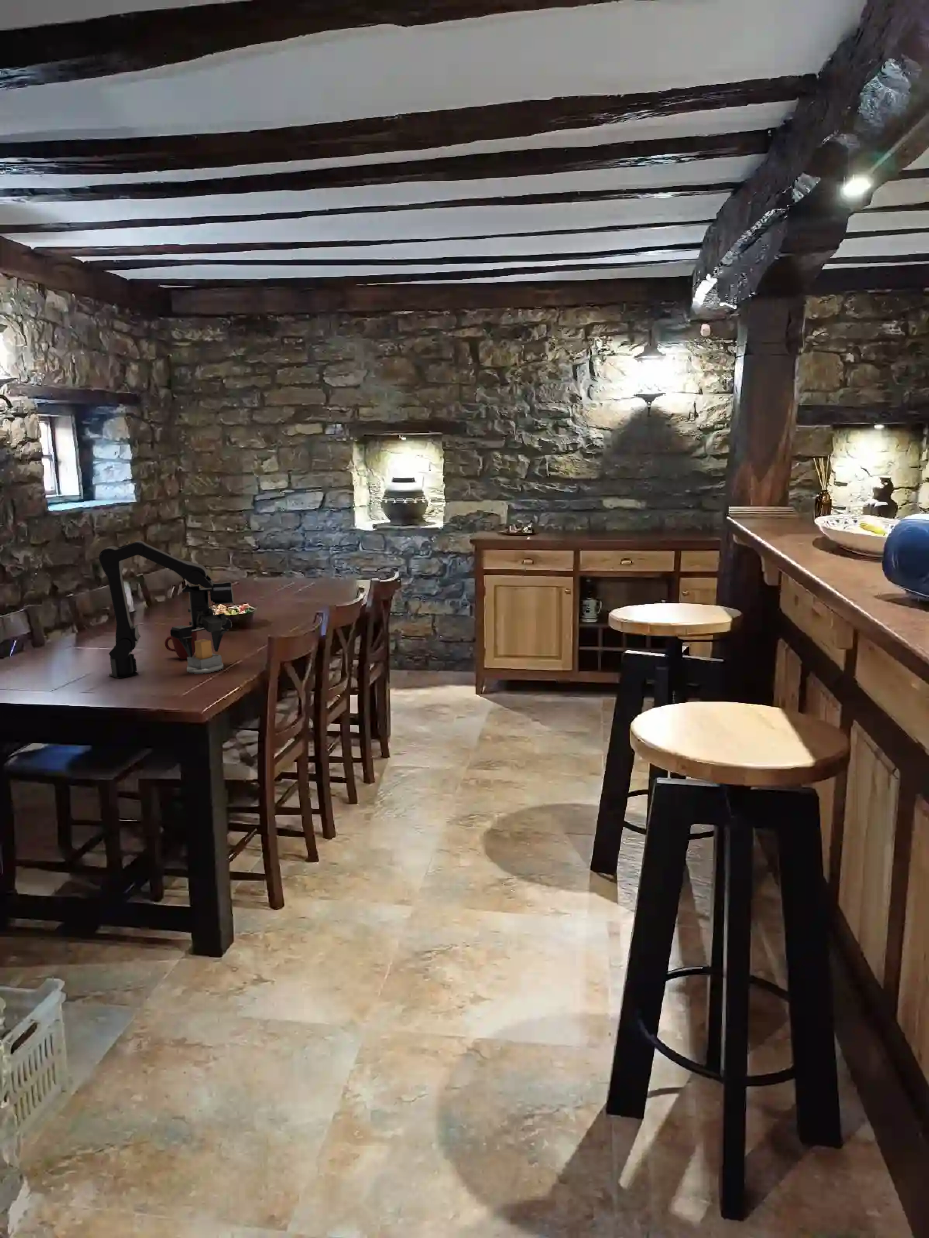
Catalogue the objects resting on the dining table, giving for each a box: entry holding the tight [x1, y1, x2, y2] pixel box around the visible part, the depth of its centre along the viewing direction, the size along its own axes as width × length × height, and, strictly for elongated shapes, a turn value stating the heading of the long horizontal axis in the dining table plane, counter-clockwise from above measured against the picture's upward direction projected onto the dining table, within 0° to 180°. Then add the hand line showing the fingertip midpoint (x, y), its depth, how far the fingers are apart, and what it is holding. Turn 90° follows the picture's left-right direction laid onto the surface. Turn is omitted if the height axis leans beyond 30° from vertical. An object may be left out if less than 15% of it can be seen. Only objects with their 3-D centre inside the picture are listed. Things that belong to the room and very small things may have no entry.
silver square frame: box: [186, 652, 224, 675], centre depth 278 cm, size 11×11×4 cm
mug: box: [164, 625, 198, 660], centre depth 293 cm, size 11×8×10 cm
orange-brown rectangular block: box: [195, 638, 213, 659], centre depth 277 cm, size 4×4×8 cm
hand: (203, 654), depth 278 cm, fingers open, 9 cm apart
